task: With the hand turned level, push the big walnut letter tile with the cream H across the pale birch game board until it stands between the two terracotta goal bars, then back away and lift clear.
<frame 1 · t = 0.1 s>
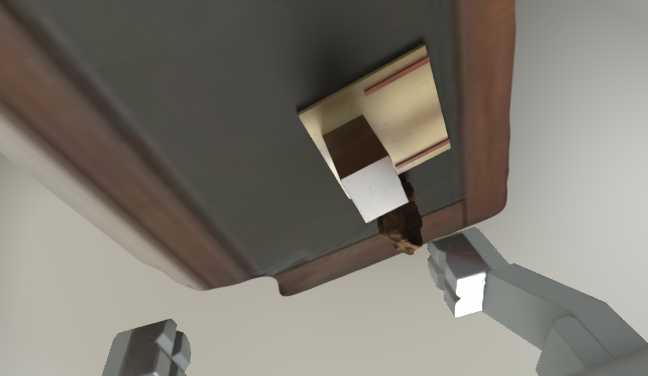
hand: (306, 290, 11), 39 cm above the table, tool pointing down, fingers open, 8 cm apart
game board: (380, 130, 55), on the table
letter H: (353, 148, 55), point 1 cm above the table, touching game board
decorative rock: (391, 202, 67), on the table
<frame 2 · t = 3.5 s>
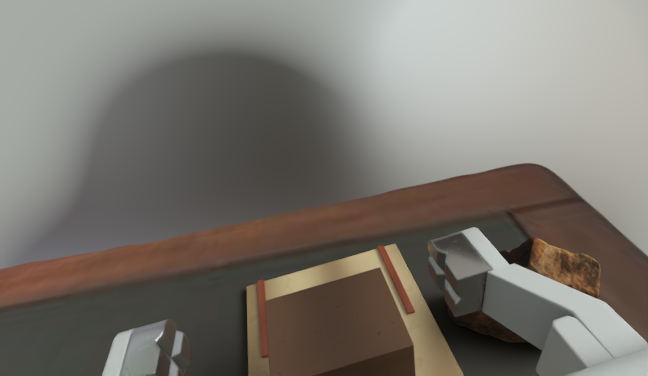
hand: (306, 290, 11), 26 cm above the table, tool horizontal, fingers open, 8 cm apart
game board: (340, 339, 37), on the table
decorative rock: (508, 322, 35), on the table
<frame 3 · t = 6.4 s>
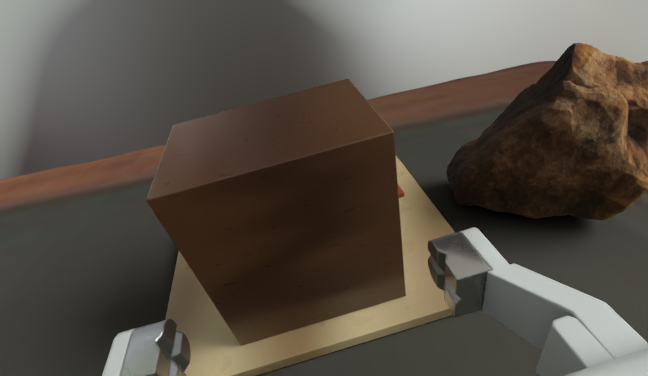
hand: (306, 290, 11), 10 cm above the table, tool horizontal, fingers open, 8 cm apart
game board: (304, 233, 27), on the table
letter H: (313, 274, 23), point 1 cm above the table, touching game board
decorative rock: (532, 201, 25), on the table
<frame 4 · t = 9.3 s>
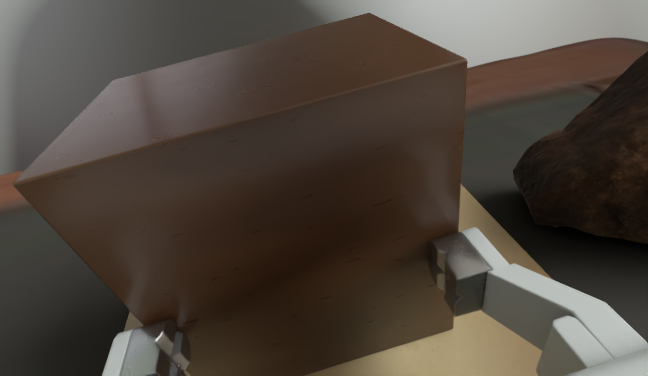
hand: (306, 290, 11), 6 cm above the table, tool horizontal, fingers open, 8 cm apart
game board: (313, 264, 19), on the table
letter H: (320, 295, 17), point 1 cm above the table, touching game board
decorative rock: (644, 219, 17), on the table
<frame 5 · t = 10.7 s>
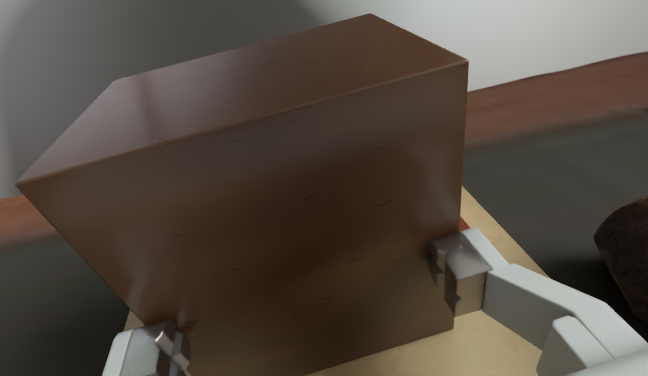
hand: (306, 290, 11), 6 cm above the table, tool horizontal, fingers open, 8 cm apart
game board: (335, 360, 15), on the table
letter H: (320, 295, 17), point 1 cm above the table, touching game board, gripper
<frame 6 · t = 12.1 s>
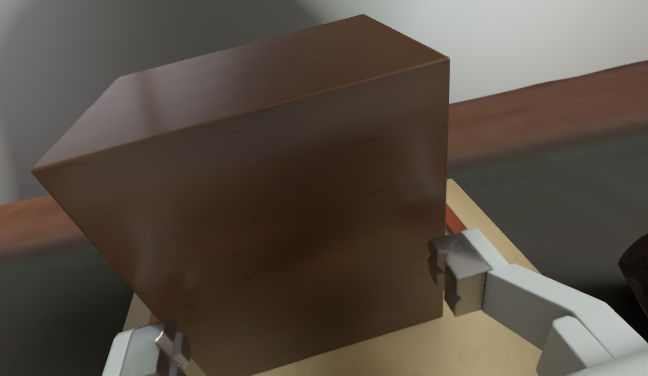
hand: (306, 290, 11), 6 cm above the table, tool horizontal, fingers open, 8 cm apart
letter H: (316, 285, 17), point 1 cm above the table, touching game board
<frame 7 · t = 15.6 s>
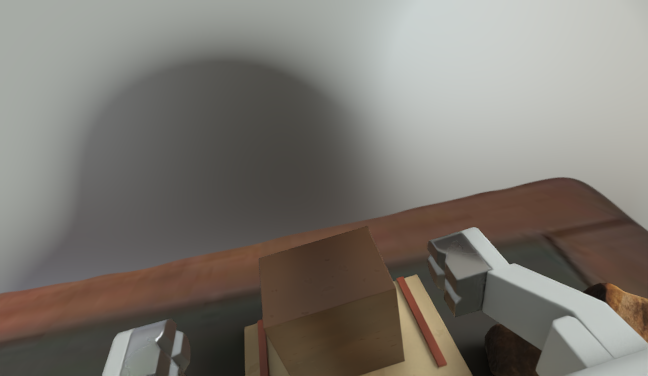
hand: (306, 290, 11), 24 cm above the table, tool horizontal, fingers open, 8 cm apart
letter H: (343, 342, 34), point 1 cm above the table, touching game board
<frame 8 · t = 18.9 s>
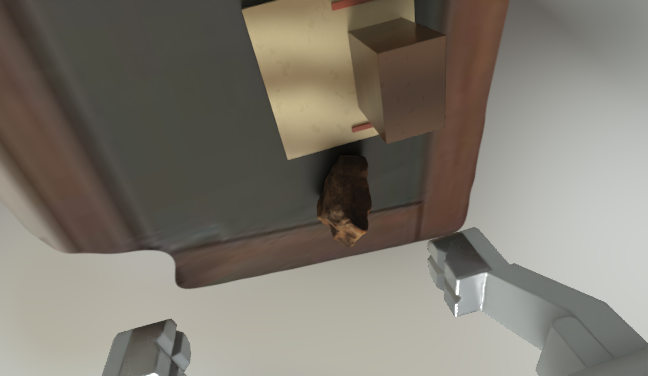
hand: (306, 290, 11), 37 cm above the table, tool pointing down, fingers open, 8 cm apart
game board: (341, 72, 45), on the table
letter H: (379, 65, 44), point 1 cm above the table, touching game board
decorative rock: (338, 182, 55), on the table
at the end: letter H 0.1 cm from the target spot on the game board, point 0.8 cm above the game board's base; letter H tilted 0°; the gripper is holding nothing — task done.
